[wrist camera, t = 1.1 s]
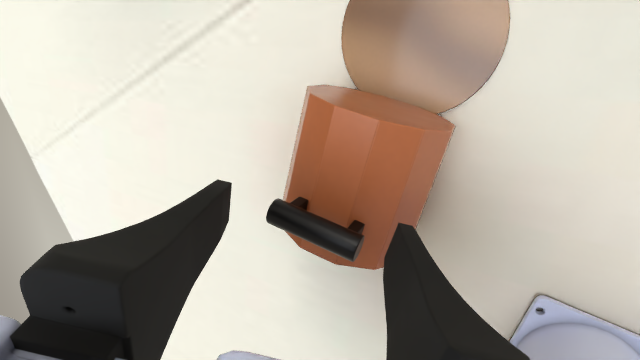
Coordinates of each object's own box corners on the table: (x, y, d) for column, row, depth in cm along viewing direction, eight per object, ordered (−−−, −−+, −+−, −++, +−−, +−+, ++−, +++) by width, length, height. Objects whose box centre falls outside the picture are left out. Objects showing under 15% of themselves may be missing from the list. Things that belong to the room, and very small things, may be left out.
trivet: (469, 136, 23) (468, 137, 22) (327, 92, 26) (326, 92, 25) (542, -44, 19) (543, -45, 19) (366, -71, 22) (365, -72, 22)
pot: (459, 119, 22) (417, 228, 25) (340, 82, 25) (314, 186, 28) (439, 152, 13) (376, 318, 16) (253, 90, 16) (228, 243, 19)
